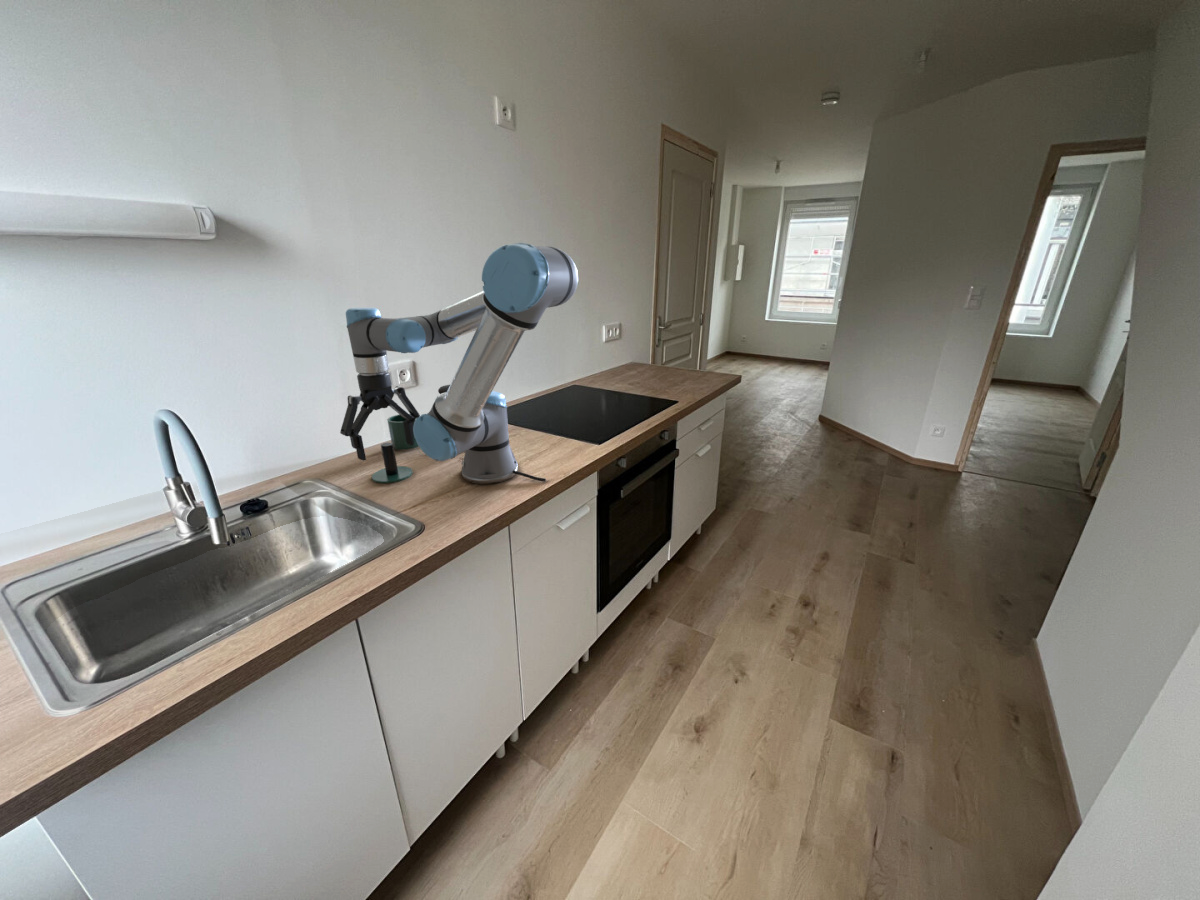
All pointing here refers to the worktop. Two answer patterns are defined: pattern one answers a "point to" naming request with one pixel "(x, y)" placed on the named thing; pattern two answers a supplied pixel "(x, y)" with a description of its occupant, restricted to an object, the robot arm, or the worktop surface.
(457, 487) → the worktop surface
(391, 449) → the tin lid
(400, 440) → the tin
